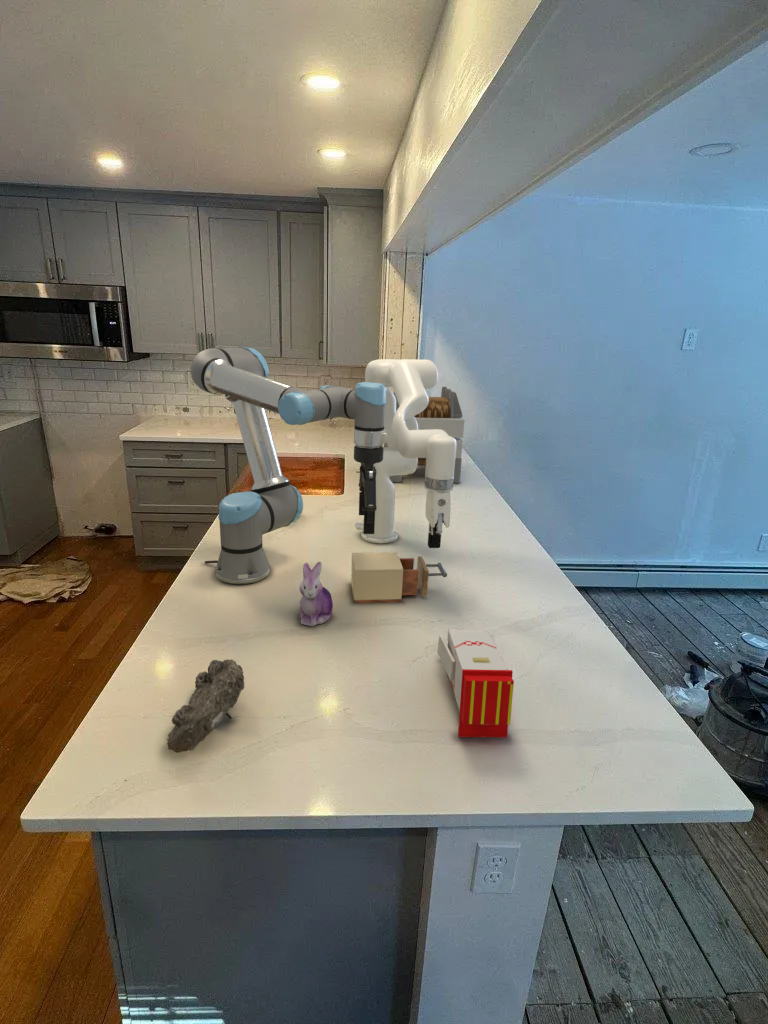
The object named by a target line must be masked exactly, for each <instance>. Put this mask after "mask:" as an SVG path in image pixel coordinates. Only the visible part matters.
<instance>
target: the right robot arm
mask: <svg viewBox="0 0 768 1024" xmlns="http://www.w3.org/2000/svg"><path fill="white" fill-rule="evenodd" d="M438 380H439V371H438V368H437V366H436V364H435V363H434V362H433V360H430V359H423V358H422V359H419V358H418V359H417V358H416V359H415V358H404V359H402V358H401V359H397V358H380V359H374V360H371V361H370V362H368V363H367V365H366V366H365V372H364V382H371V383H380V384H383V385H384V386H385V389H386V407H385V420H384V433H386V436H383V438H384V443H396V446H397V447H384V446H382V447H383V448H384V451H383V461H382V462H380V463H375V464H374V466H375V469H376V472H377V473H376V507H377V509H376V511H375V527H374V534H363V529H364V522H362V521H355V522H354V527H355V529H356V530H361V534H360V535H361V538H362V539H363V540H364V541H366V542H368V543H373V544H389V543H393V542H395V541H397V540H398V537H399V534H398V532H397V531H396V530H395V528H394V527H395V510H396V509H395V508H396V507H395V506H396V491H397V490H396V486H395V484H394V482H391V480H390V478H389V476H394V475H402V476H406V475H412V474H414V473H415V472H416V470H417V469H418V466H417V464H418V458H425V457H426V466H425V470H424V472H425V473H424V486H423V488H424V489H425V490H426V496H425V497H426V498H425V511H424V513H425V518H426V520H427V521H428V534H427V547H428V548H429V549H440V548H441V541H442V533H443V525H444V527H445V528H449V527H450V525H451V505H452V504H451V502H452V501H451V492H452V491H453V490H454V483H453V480H454V469H455V457H456V445H457V443H456V440H455V439H454V438H453V437H450V436H448V434H447V433H446V432H445V431H443V430H440V429H430V430H428V429H426V430H418V423H417V420H416V418H415V417H414V416H415V415H417V414H419V413H421V412H422V411H423V410H424V409H425V408H426V407H427V405H428V403H429V398H428V397H429V395H428V394H427V391H426V389H427V390H428V389H430V390H431V389H433V388H434V387H436V385H437V383H438ZM391 388H392V389H393V391H392V389H391ZM394 392H395V395H396V398H397V401H398V404H399V406H400V407H399V408H398V409H397V411H396V398H395V396H394ZM369 506H373V505H369Z"/></svg>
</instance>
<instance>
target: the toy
mask: <svg viewBox="0 0 768 1024" xmlns="http://www.w3.org/2000/svg"><path fill="white" fill-rule="evenodd" d="M446 640H447V643H446V641H445V639H444V636H443V635H442V634H439V637H438V646H437V656H438V657H439V659H440V661H441V663H442V666H443V668H444V670H445V672H446V674H447V677H448V679H449V681H450V684H451V687H452V690H453V693H454V697H455V701H456V705H457V708H458V711H459V714H458V715H459V716H458V730H457V731H458V732H457V737H458V738H508V731H509V726H510V725H511V717H512V707H513V697H514V696H513V695H514V684H515V680H514V679H513V673H514V671H513V670H512V669H508V667H507V665H506V662H505V661H504V659H503V658H502V655H501V653H500V651H499V649H498V647H497V643H496V639H495V637H494V635H493V634H491V632H490V631H489V629H467V628H466V629H465V628H463V629H461V628H460V629H459V628H448V630H447V639H446Z"/></svg>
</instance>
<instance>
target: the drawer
mask: <svg viewBox="0 0 768 1024" xmlns="http://www.w3.org/2000/svg"><path fill="white" fill-rule="evenodd" d="M399 559H400V562H401V564H402V567H403V582H402V596H418V589H419V591H420V595H421V597H422V598H427V597H428V588H429V587H428V586H429V577H442V578H447V577H448V572H447V571H446V569H445V567H444V565H443V563H442V562H437V563H426V561H425V559H424V558H423V556H422V555H418V556H417V562H416V563H417V566H416V569H415V568H414V565H415V558H414V557H401V558H400V557H399ZM429 568H438V571H439V572H430V570H429Z"/></svg>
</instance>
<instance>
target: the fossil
mask: <svg viewBox="0 0 768 1024" xmlns="http://www.w3.org/2000/svg"><path fill="white" fill-rule="evenodd" d="M243 670H244V669H243V667H242V665H240V664H237V662H236V661H235V660H234V659H232V658H231V659H227V658H226V659H224V660H223V661H222V660H217V659H212V660H211V661H210V663H209V665H208V666H207V671H201V672H199V673H198V674H197V675H196V676H195V680H194V684H195V685H194V687H195V689H194V690H193V693H192V694H191V697H190V698H189V700H188V704H184V705H182V706H181V707H180V709H177V710H176V711H175V713H174V715H173V716H172V718H171V723H172V724H173V727H172V730H171V731H170V732H168V734H167V738H166V741H167V742H166V745H167V749H168V750H169V751H173V752H174V753H176V754H178V753H182V752H188V751H189V752H192V751H193V750H195V748H196V747H197V746H199V744H200V743H201V742H203V741H204V740H205V739H206V738H207V737H208V736H209V735H210V734H211V733H212V732H214V730H215V729H217V727H218V726H219V724H220V722H221V721H222V720H223V719H224V718H225V716H226V717H227V719H229V720H233V717H232V715H230V714H229V710H230V709H231V708H234V706H235V704H236V703H237V702H238V699H239V697H240V695H241V693H242V691H243V690H245V689H244V688H245V675H244V671H243Z"/></svg>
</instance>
